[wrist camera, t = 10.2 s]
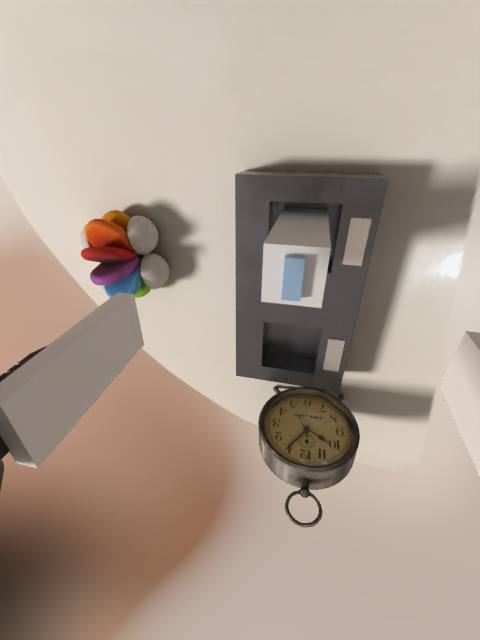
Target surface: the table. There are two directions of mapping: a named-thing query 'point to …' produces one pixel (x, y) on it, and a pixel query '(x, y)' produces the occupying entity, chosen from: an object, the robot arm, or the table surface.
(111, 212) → the rainbow petal toy
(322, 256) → the plug
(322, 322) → the panel
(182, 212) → the table surface
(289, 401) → the alarm clock
